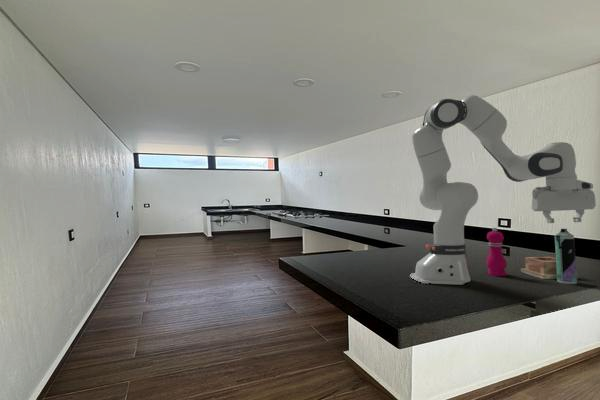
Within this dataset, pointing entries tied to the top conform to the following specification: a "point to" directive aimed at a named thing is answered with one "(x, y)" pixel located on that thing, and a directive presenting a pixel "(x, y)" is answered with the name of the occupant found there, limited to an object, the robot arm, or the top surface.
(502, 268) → the pepper mill
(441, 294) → the top surface
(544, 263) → the can holder
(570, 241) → the spray can
